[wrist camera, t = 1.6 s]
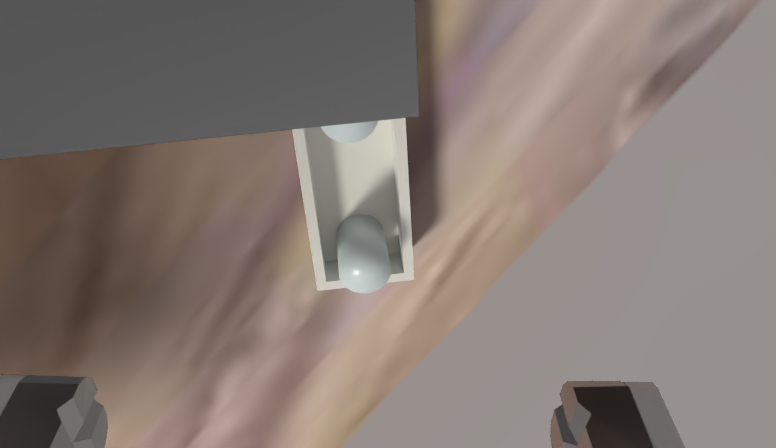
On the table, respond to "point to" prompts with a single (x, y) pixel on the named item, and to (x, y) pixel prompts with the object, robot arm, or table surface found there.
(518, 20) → the table surface
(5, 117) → the side table
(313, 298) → the table surface
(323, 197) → the tray
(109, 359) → the table surface
